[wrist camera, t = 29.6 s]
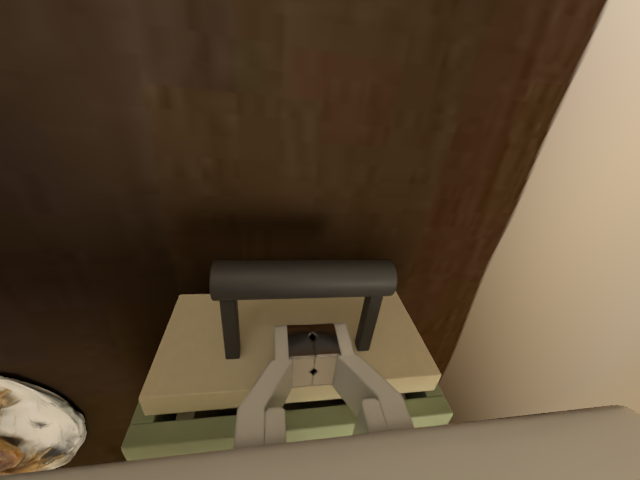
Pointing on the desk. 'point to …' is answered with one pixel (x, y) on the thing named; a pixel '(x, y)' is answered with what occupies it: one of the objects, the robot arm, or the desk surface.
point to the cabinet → (301, 424)
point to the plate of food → (36, 428)
